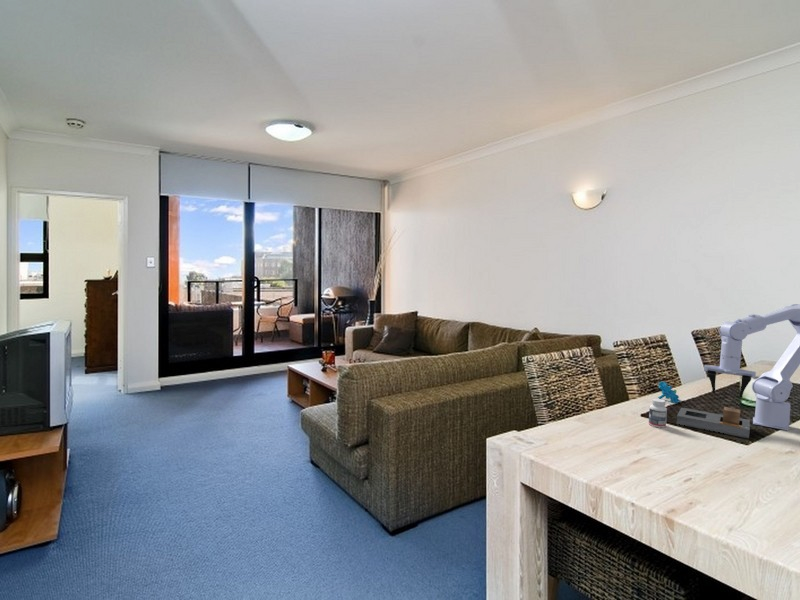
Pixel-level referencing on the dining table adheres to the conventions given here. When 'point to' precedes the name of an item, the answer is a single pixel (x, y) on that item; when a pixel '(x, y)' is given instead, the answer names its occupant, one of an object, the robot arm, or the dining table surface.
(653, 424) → the pill bottle
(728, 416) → the walnut block
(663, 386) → the gear
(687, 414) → the rail block
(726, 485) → the dining table surface
